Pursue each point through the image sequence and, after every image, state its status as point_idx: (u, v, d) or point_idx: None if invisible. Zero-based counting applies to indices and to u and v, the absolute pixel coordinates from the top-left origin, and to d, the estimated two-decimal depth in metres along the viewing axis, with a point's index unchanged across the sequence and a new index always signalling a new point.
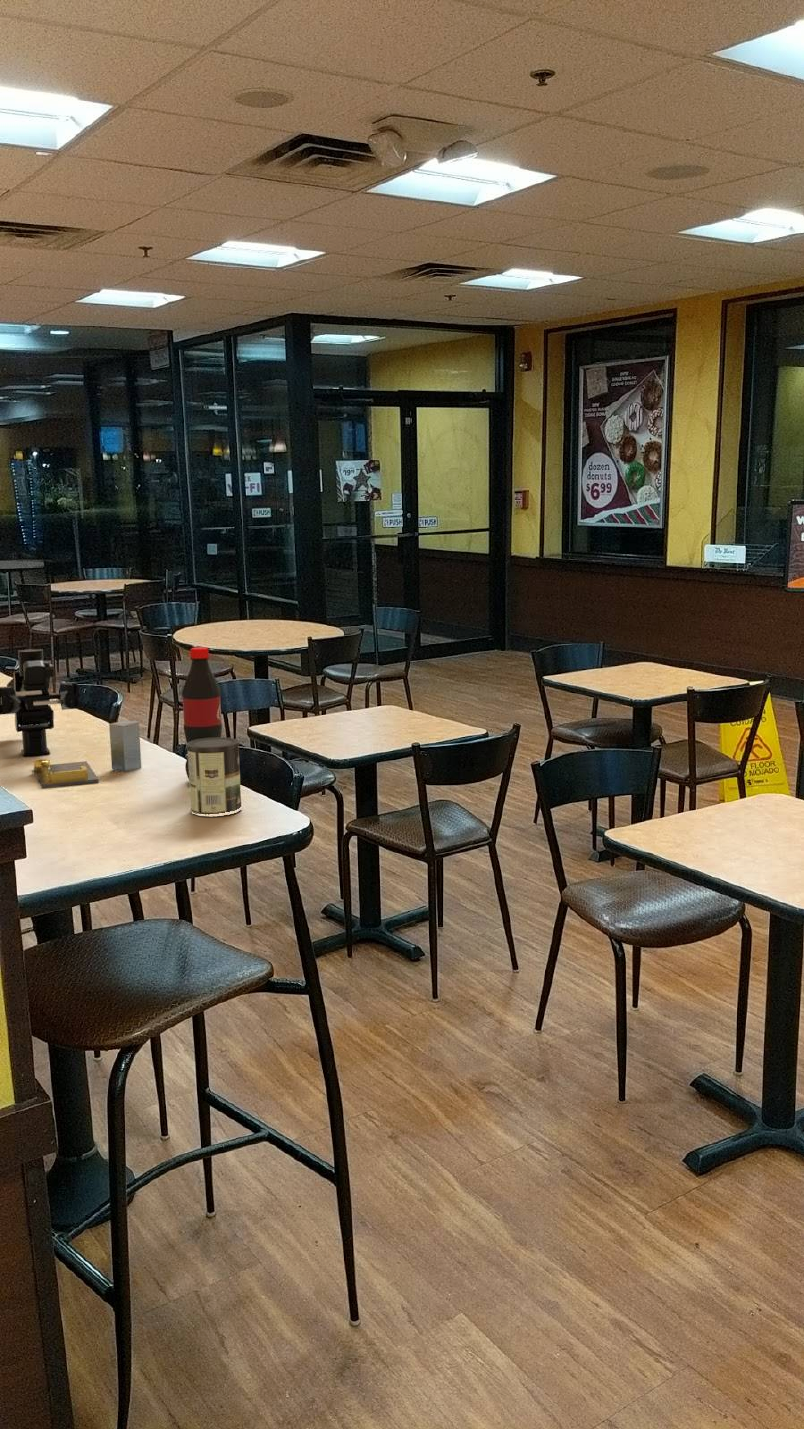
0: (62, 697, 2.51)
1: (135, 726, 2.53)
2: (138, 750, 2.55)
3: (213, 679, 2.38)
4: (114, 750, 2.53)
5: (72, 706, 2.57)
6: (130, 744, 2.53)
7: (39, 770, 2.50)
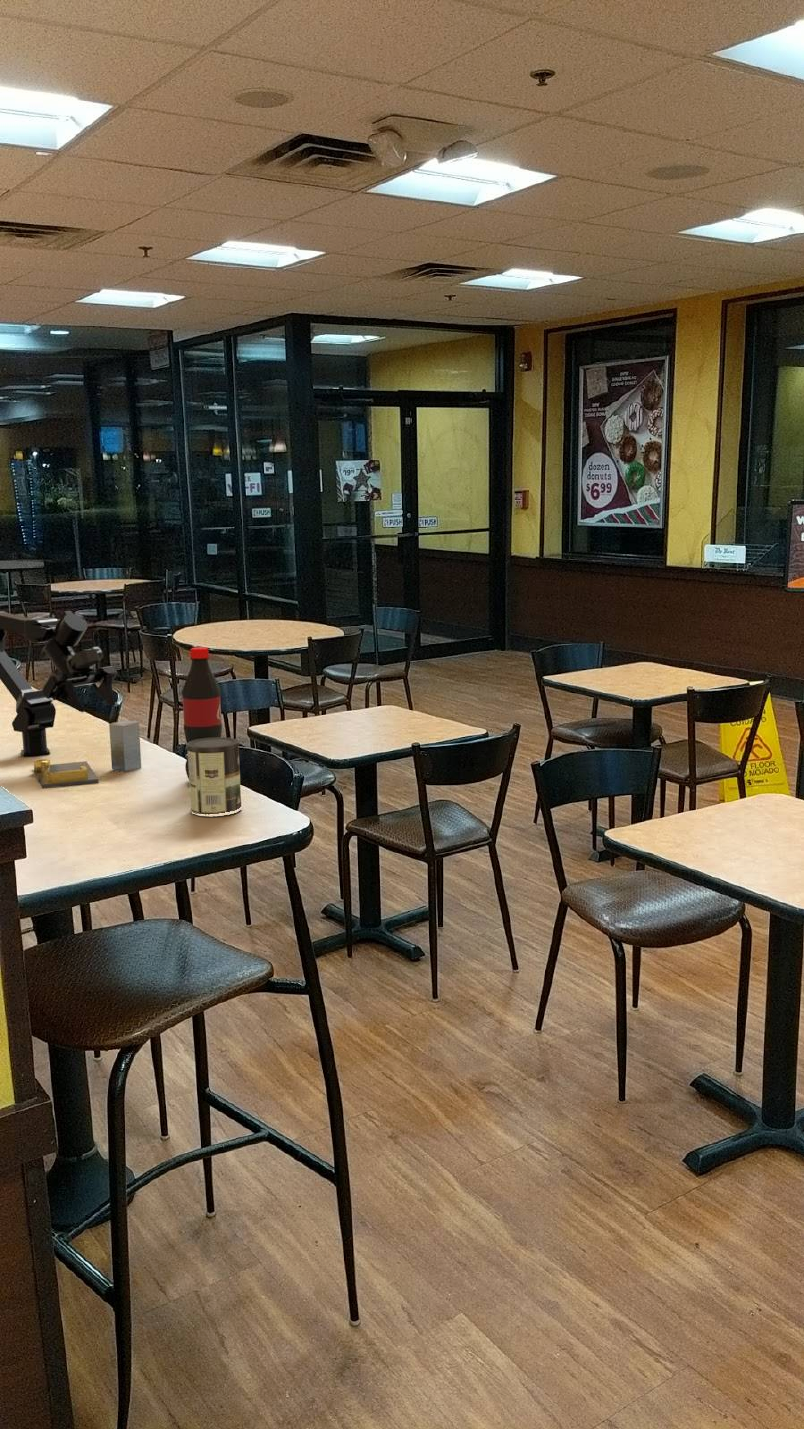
0: (113, 698, 2.61)
1: (135, 726, 2.53)
2: (138, 750, 2.55)
3: (213, 679, 2.38)
4: (114, 750, 2.53)
5: None
6: (130, 744, 2.53)
7: (39, 770, 2.50)
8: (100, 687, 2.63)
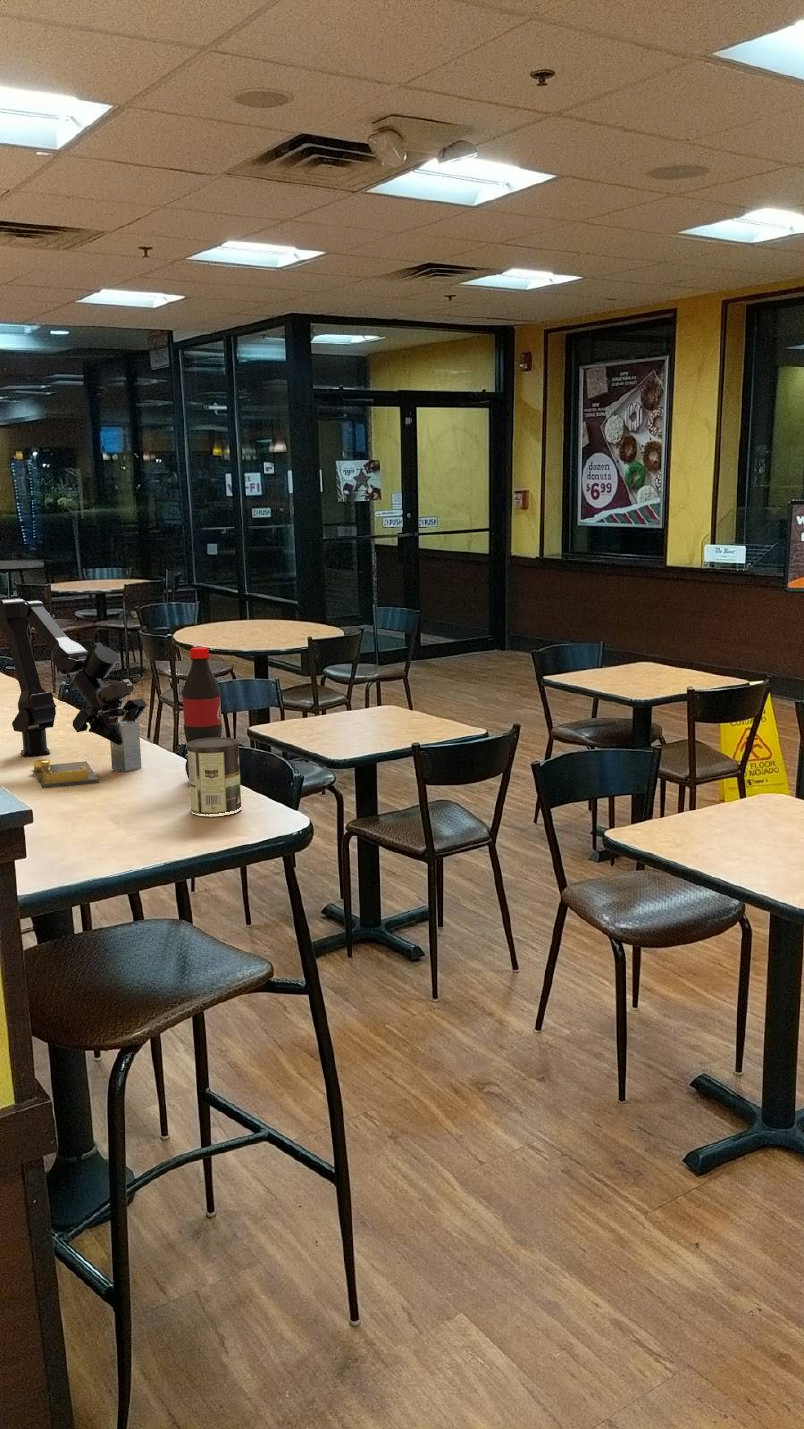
0: None
1: (135, 726, 2.53)
2: (138, 750, 2.55)
3: (213, 679, 2.38)
4: (114, 750, 2.53)
5: None
6: (130, 744, 2.53)
7: (39, 770, 2.50)
8: None
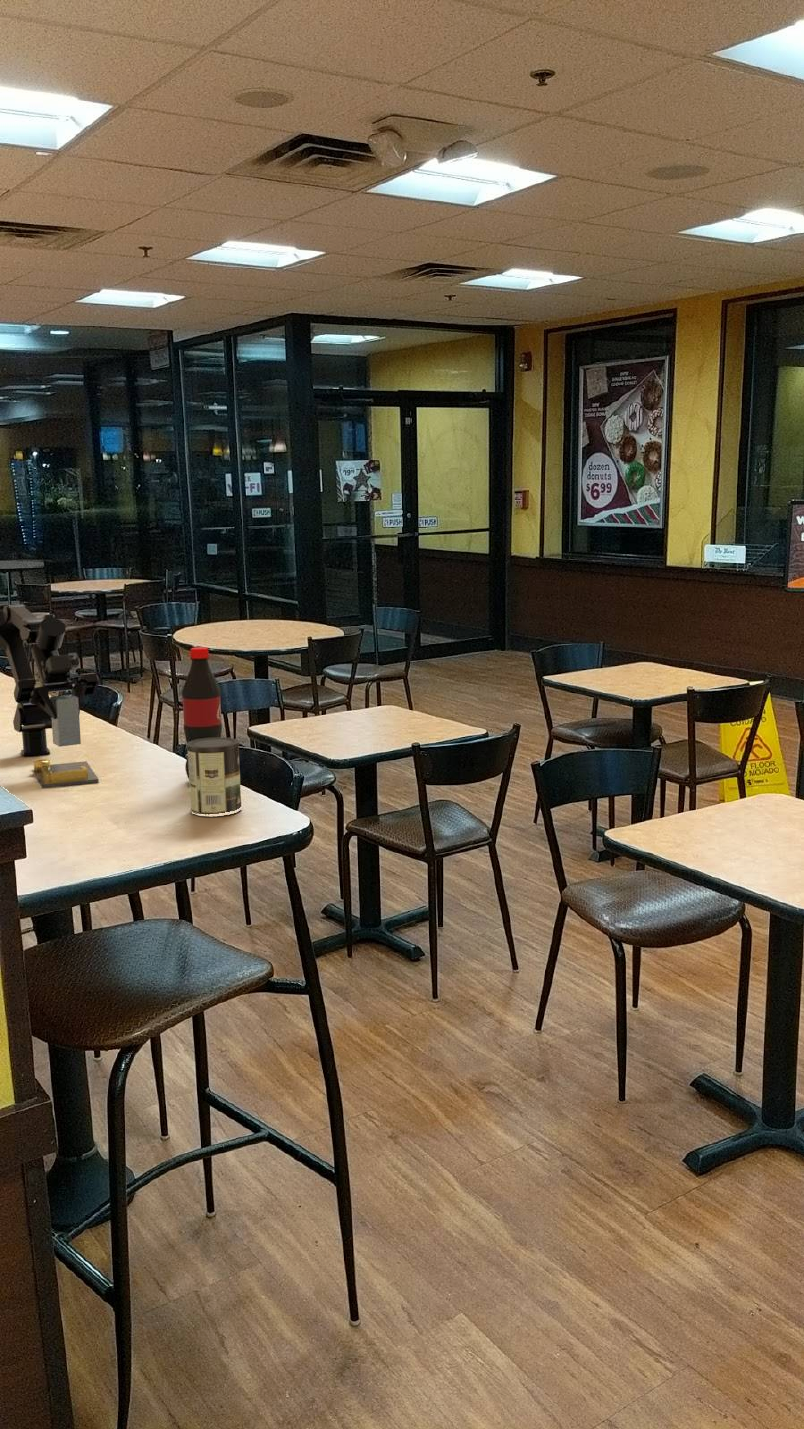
0: None
1: (73, 701, 2.49)
2: (76, 726, 2.50)
3: (213, 679, 2.38)
4: (53, 723, 2.50)
5: (81, 697, 2.57)
6: (67, 719, 2.49)
7: (39, 770, 2.50)
8: None
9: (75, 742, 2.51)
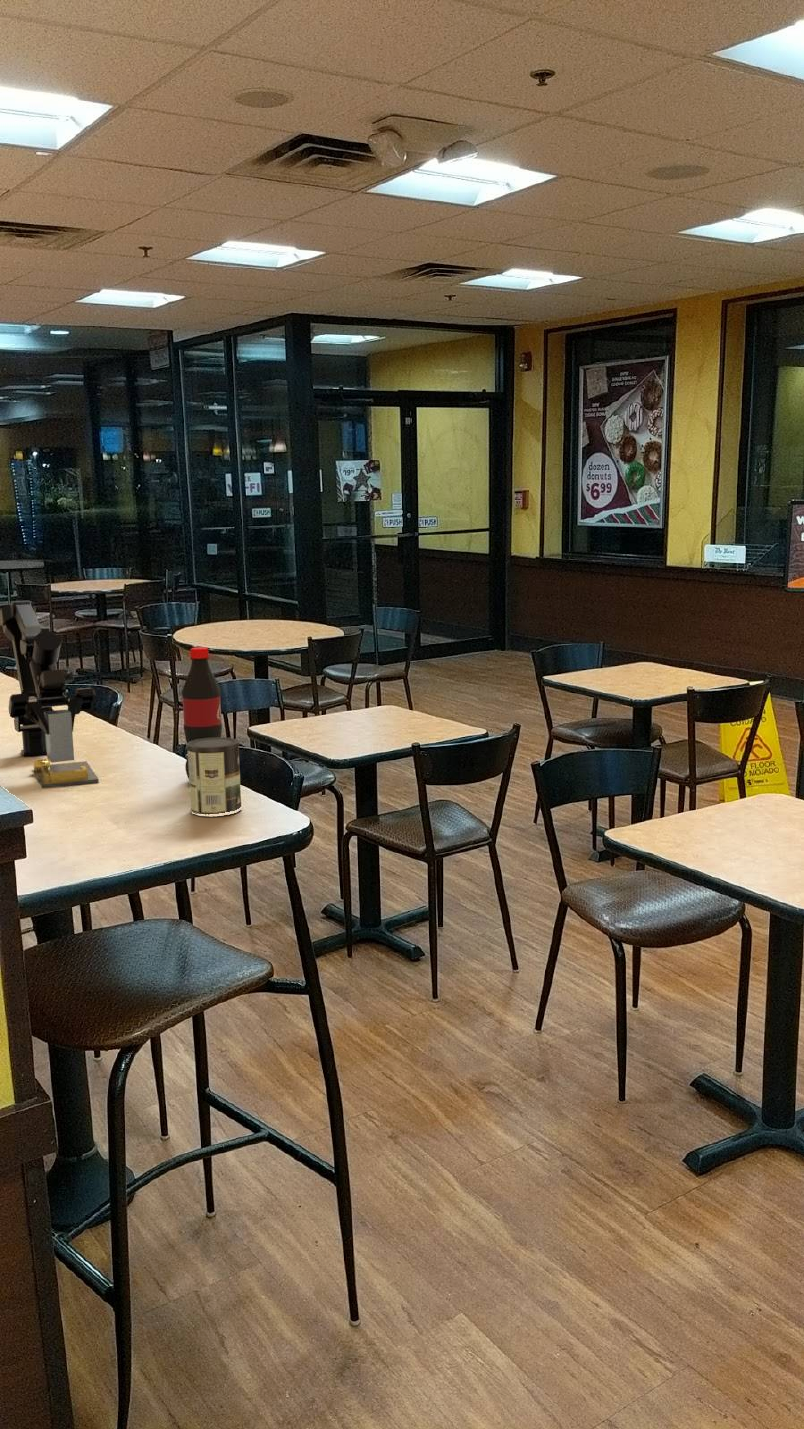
0: (72, 723, 2.46)
1: (66, 716, 2.44)
2: (69, 741, 2.45)
3: (213, 679, 2.38)
4: (47, 739, 2.46)
5: (78, 712, 2.52)
6: (59, 734, 2.44)
7: (39, 770, 2.50)
8: (68, 710, 2.50)
9: (68, 758, 2.46)
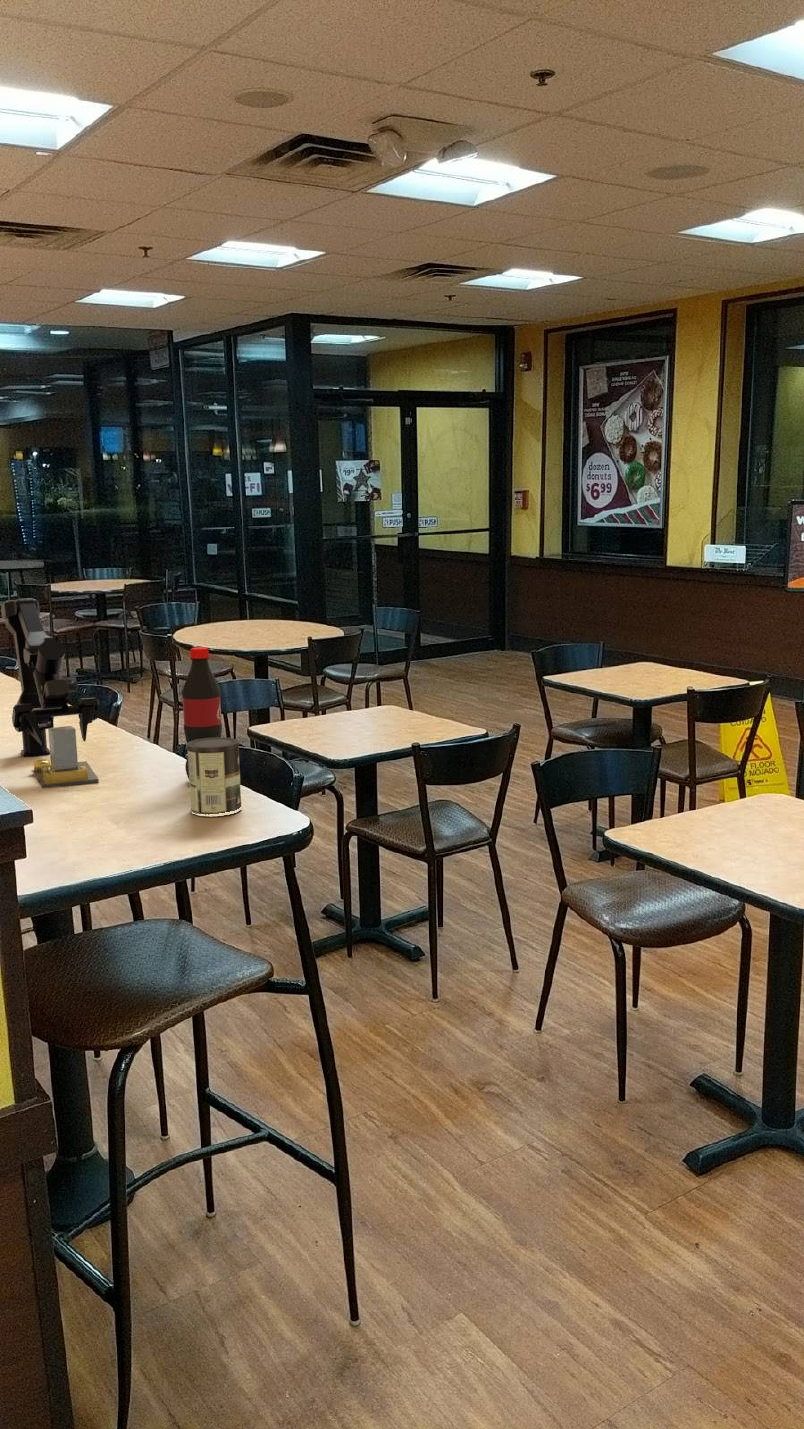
0: (85, 732, 2.45)
1: (70, 733, 2.42)
2: (74, 758, 2.43)
3: (213, 679, 2.38)
4: (51, 755, 2.44)
5: (90, 721, 2.51)
6: (63, 751, 2.42)
7: (39, 770, 2.50)
8: (80, 719, 2.48)
9: None
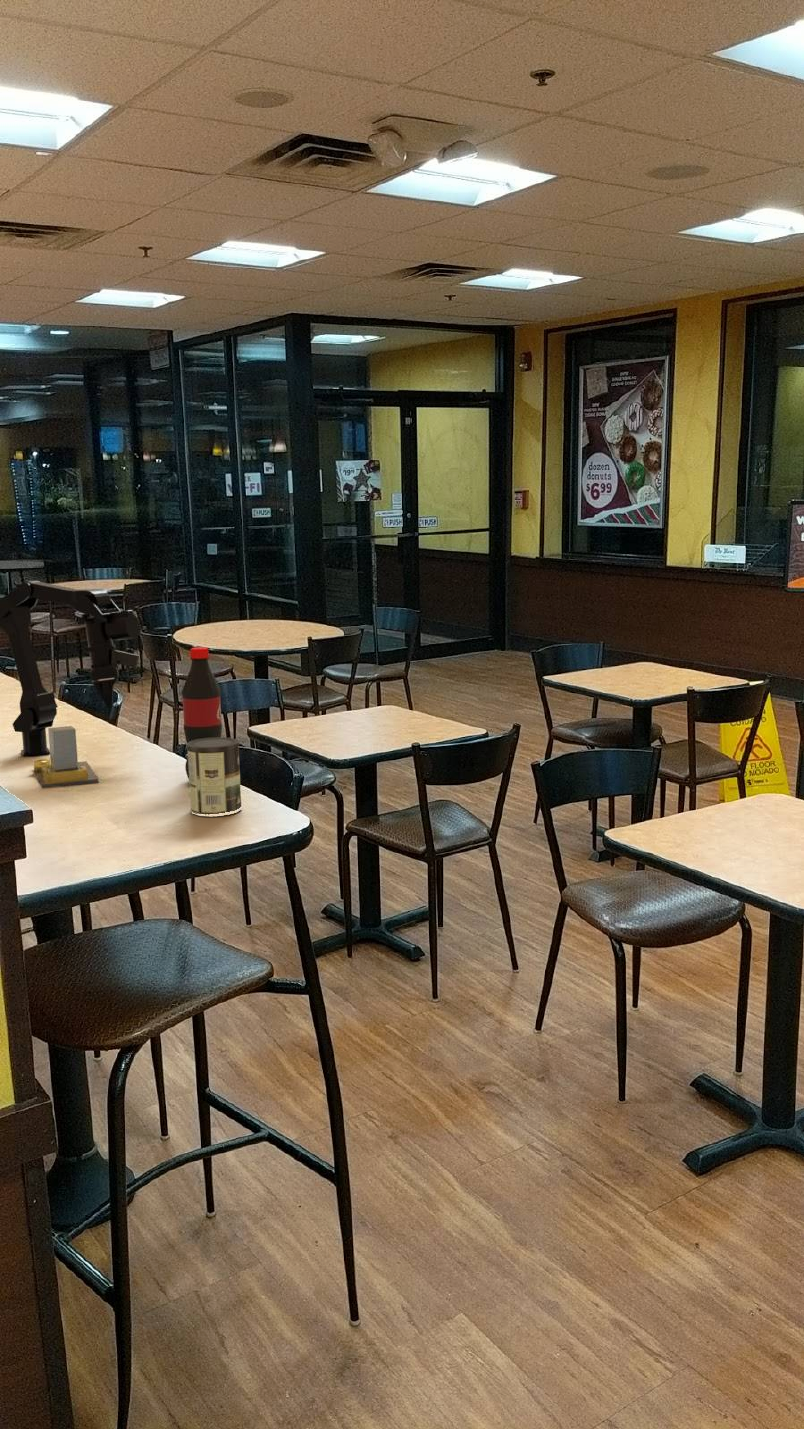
0: (112, 697, 2.67)
1: (70, 733, 2.42)
2: (74, 758, 2.43)
3: (213, 679, 2.38)
4: (51, 756, 2.44)
5: None
6: (63, 751, 2.42)
7: (39, 770, 2.50)
8: None
9: None
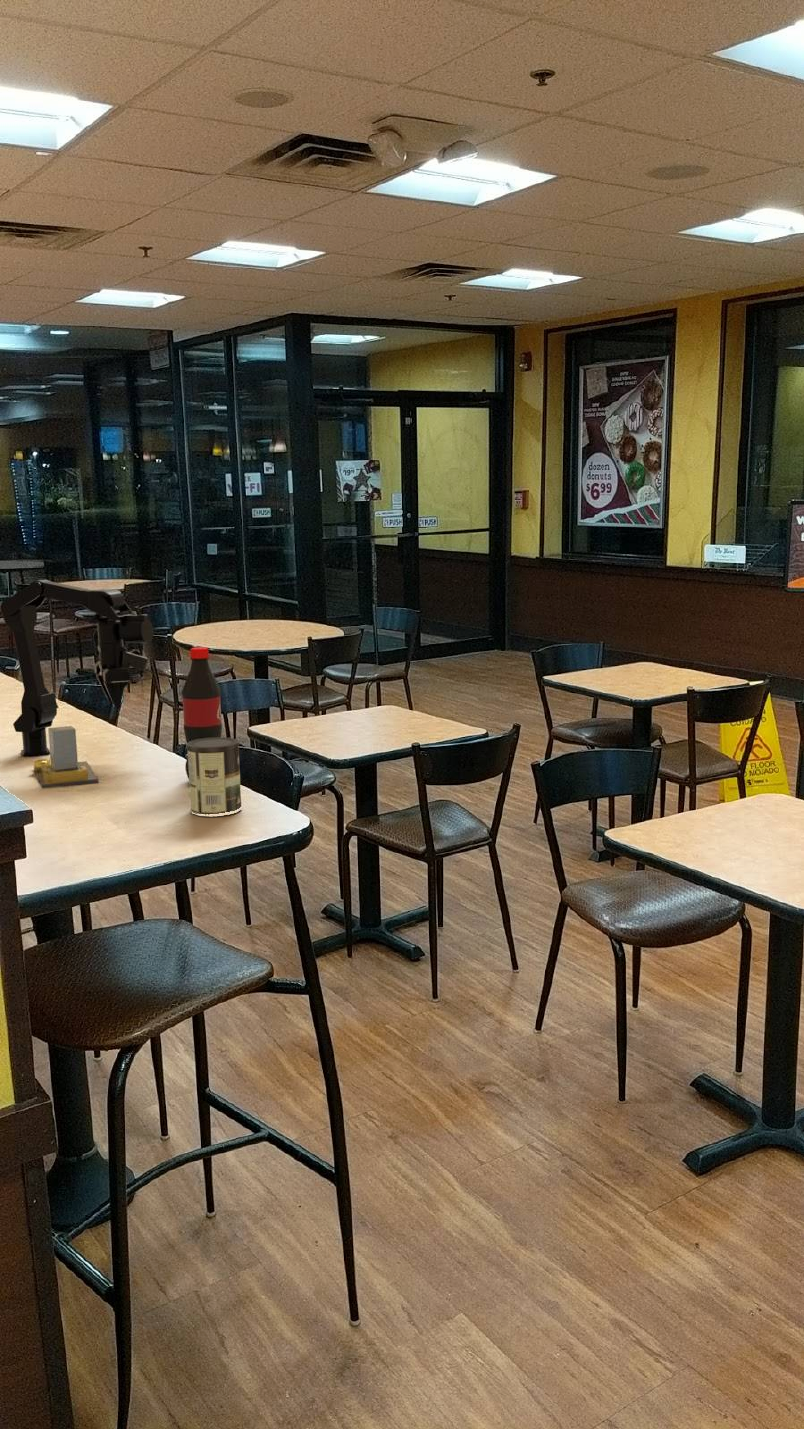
0: None
1: (70, 733, 2.42)
2: (74, 758, 2.43)
3: (213, 679, 2.38)
4: (51, 756, 2.44)
5: None
6: (63, 751, 2.42)
7: (39, 770, 2.50)
8: None
9: None
